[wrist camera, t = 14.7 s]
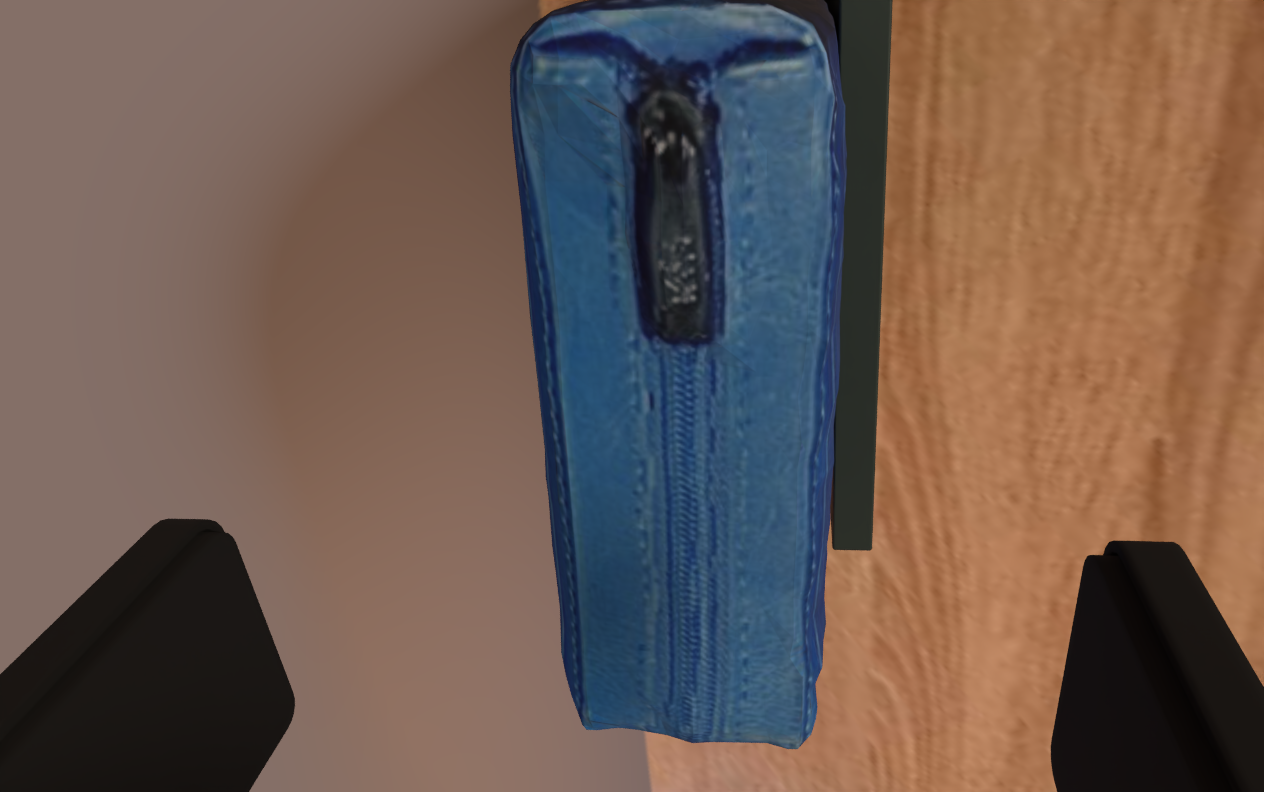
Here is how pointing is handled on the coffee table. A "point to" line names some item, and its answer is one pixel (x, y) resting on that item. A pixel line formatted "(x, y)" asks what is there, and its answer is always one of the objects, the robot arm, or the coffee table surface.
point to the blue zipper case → (686, 351)
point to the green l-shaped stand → (860, 262)
